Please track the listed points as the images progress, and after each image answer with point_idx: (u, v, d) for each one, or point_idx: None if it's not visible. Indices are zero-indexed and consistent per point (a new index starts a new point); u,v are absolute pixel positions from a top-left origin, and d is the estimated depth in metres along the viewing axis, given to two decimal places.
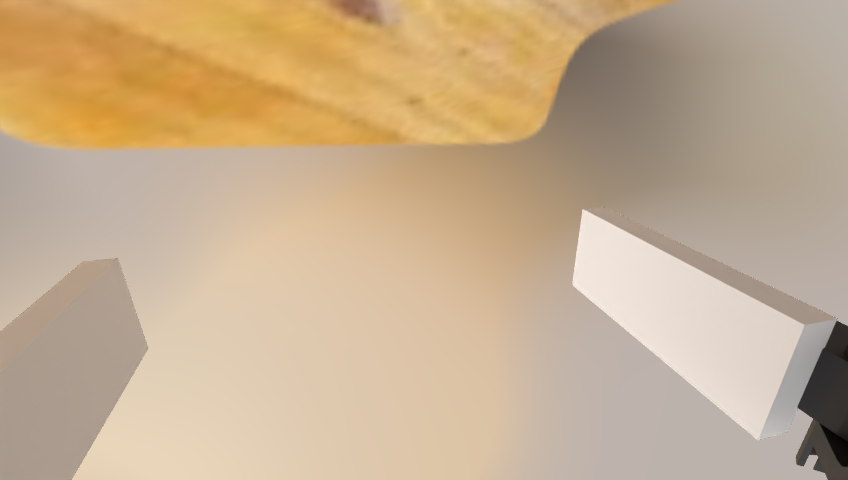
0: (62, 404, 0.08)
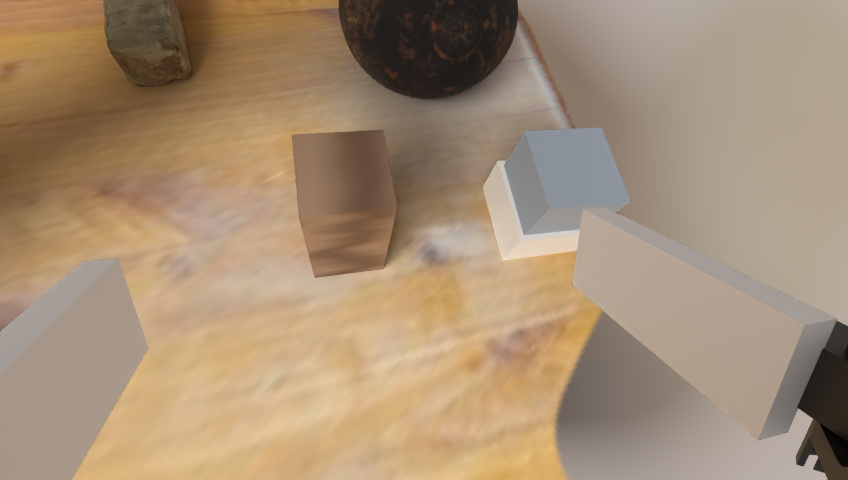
0: (62, 404, 0.08)
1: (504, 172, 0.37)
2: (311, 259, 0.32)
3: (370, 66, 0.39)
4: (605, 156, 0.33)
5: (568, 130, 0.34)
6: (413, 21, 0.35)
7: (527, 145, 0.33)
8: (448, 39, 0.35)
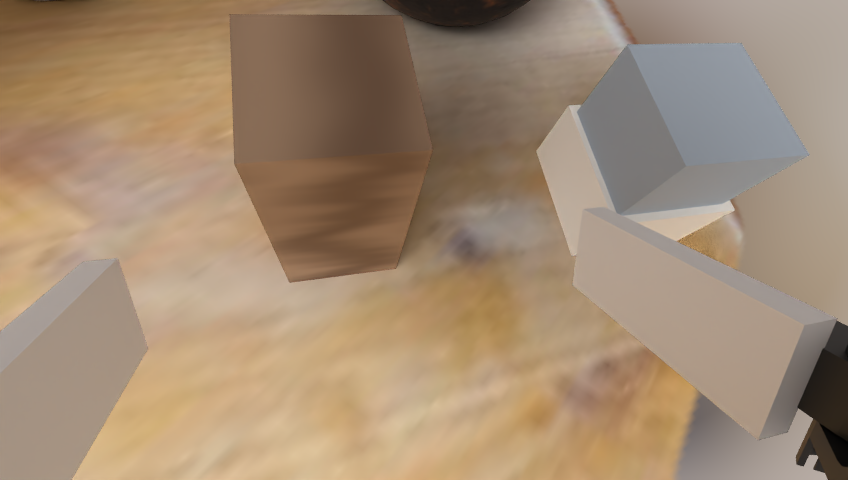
0: (62, 404, 0.08)
1: (580, 122, 0.25)
2: (278, 253, 0.19)
3: None
4: (755, 85, 0.21)
5: (693, 46, 0.21)
6: None
7: (634, 66, 0.20)
8: None
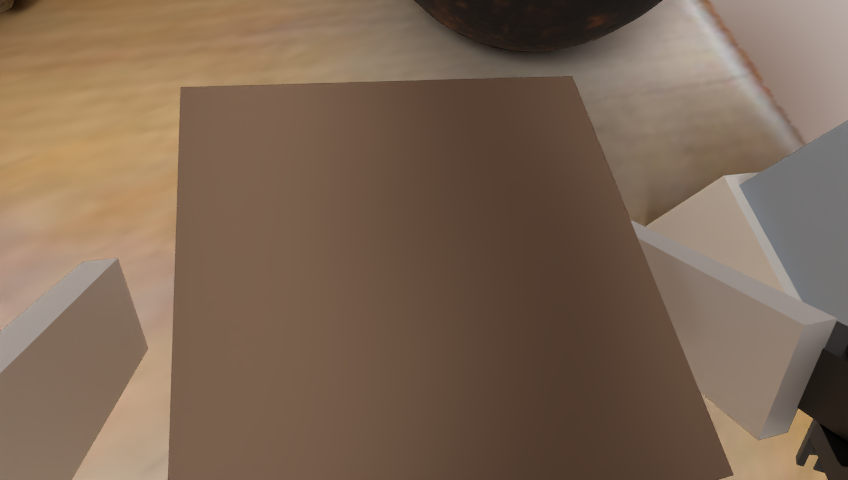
0: (62, 404, 0.08)
1: (745, 203, 0.16)
2: None
3: None
4: None
5: None
6: None
7: None
8: None
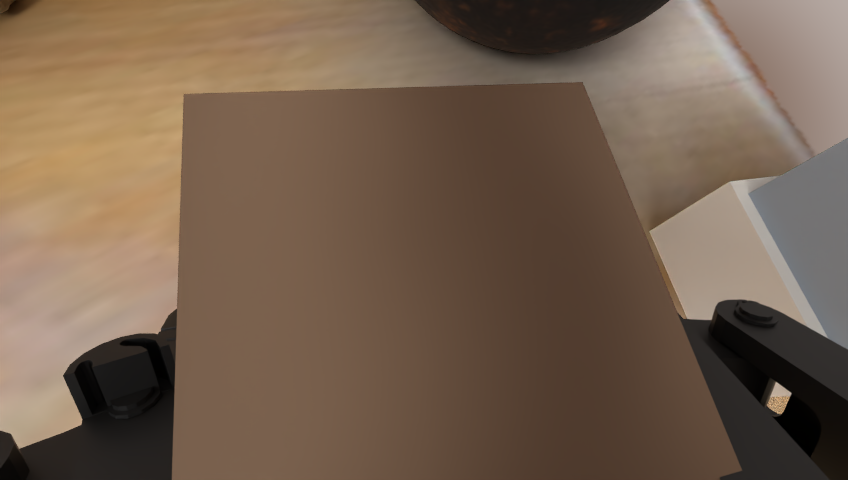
0: None
1: (751, 209, 0.16)
2: None
3: None
4: None
5: None
6: None
7: None
8: None
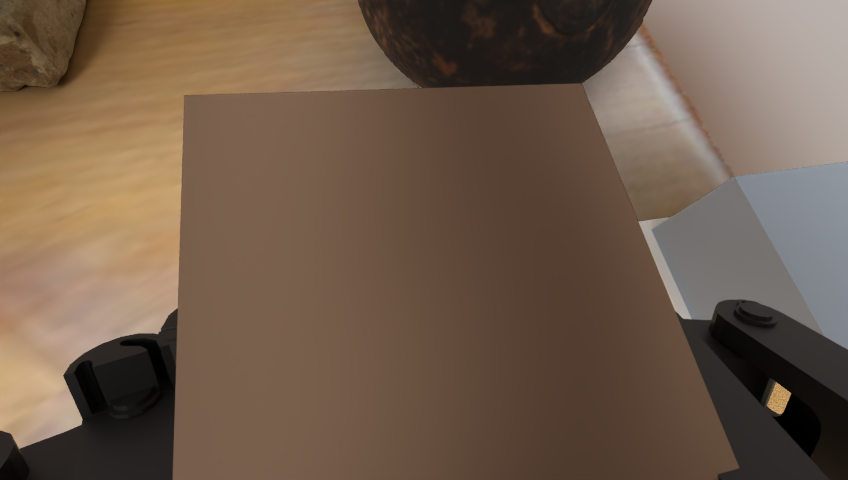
0: None
1: (654, 243, 0.20)
2: None
3: (406, 54, 0.22)
4: None
5: (812, 170, 0.17)
6: None
7: (745, 206, 0.16)
8: None
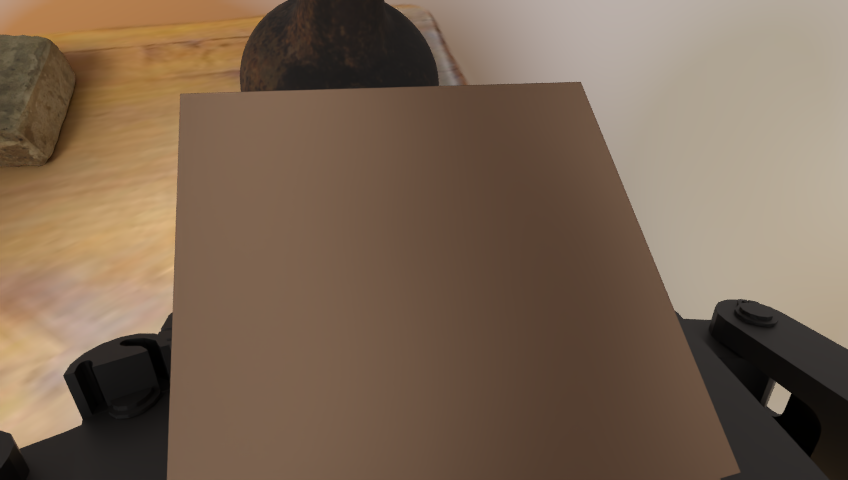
0: None
1: None
2: None
3: None
4: None
5: None
6: None
7: None
8: None
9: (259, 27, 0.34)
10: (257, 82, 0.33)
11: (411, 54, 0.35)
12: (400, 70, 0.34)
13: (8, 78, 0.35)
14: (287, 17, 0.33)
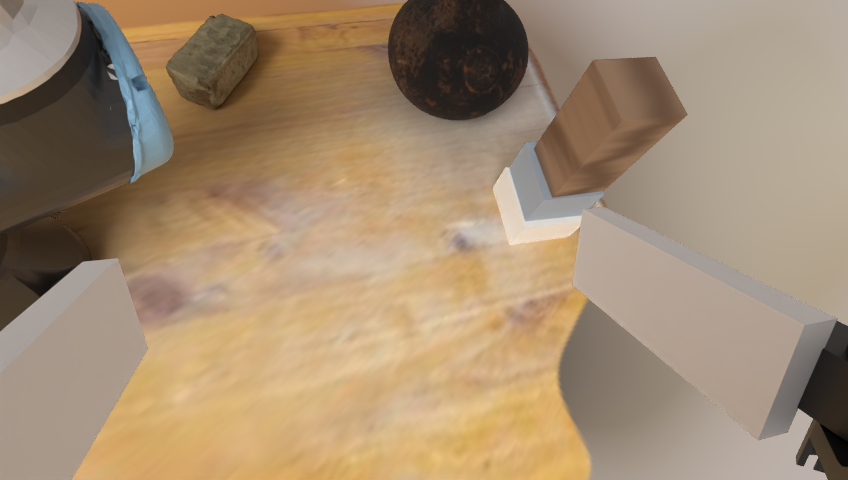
0: (62, 404, 0.08)
1: (511, 176, 0.48)
2: (574, 173, 0.38)
3: (414, 96, 0.50)
4: None
5: None
6: (450, 65, 0.46)
7: (527, 153, 0.44)
8: (476, 78, 0.46)
9: (408, 8, 0.48)
10: (411, 45, 0.47)
11: (514, 26, 0.49)
12: (509, 37, 0.48)
13: (218, 45, 0.49)
14: (432, 0, 0.47)
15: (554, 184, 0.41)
